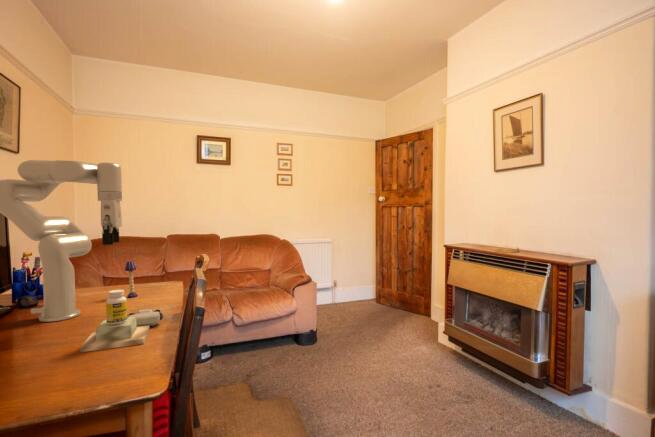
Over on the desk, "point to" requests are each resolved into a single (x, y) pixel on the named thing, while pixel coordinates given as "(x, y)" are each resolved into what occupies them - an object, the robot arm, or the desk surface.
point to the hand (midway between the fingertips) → (111, 243)
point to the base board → (115, 343)
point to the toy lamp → (131, 277)
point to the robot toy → (147, 317)
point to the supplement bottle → (116, 307)
